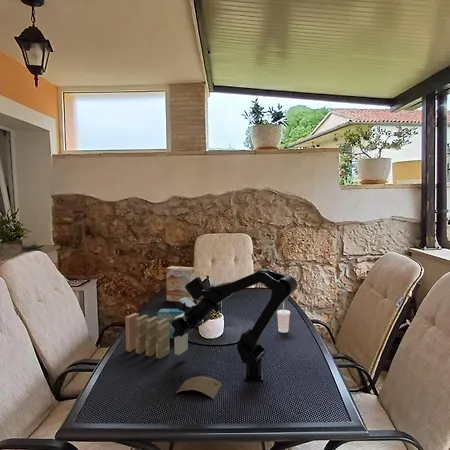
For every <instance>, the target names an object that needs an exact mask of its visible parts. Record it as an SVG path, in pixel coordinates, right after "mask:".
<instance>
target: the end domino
mask: <svg viewBox="0 0 450 450" xmlns="http://www.w3.org/2000/svg"><path fill="white" fill-rule="evenodd" d="M138 317H140V313H139V312H138V313H137V312H134V313H131V314H129V315H127V316H125V318H124V319H125V320H124V321H125V323H124V324H125V345H126V346H125V348H126V349H125V350H126V352H130V353H131V352H132V351H134V350H136V337H135V319H136V318H138Z"/></svg>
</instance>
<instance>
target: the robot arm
mask: <svg viewBox="0 0 450 450" xmlns="http://www.w3.org/2000/svg"><path fill="white" fill-rule="evenodd" d="M260 283H261V284H263V285H264V286H265V287H267V289H269V290H271V294H270V298H269V300H268V302H267V304H266V306H265V307H264V308H263V310H262V312H261V313H260V315H259V317H258V319H257V320H256V322H255V323H254V325H253V327H252V328H247V330H245V331H244V332H243V333H241V335H240V337H239V339H238V341H236V343H237V345H236V350H237V353H238V354H239V356H240V359H241V362H242V364H244V369H245V370H244V371H243V378H244V379H243V380H244V381H245V382H246V381H248V382H251V381H253V382H263V381H264V373H263V371H262V370H263V368H262V367H263V365H262V364H263V361H262V359H263V357H265V356H266V355H265V354H266V351H267V350H265V348H264V347H263V346H262V344H261V343H262V340H263V336H264V333H265V331H266V330H267V328H268V327H269V325H270V324H271V322H272V321H273V319H274V317H275V316H276V315H277V311H278V310H280V308H281V306H283V302H284V303H285V301H287V300H288V298H290V296H292V294H294V292H295V291H296V290H297V289H298V282H297V280H296V278H295V277H293V276H291V275H285V274H283V273H280V272H279V273H278V272H275V271H272V270H269V269H267V268H265V267H264V268H262V269H259V270H257V271H256V272H254V273H251V274H249V275H247V276H244V277H242V278H239V279H237V280H235V281H228V282H222V283H219V284H217V285H211V286H209V287H207V286H206V284H205V282H204V281H203V280H202V278H201V277H200V276H196V277H194V280H192V281H191V282H190V283H188V284H187V285H186V286H185V289H186V290H187V291H188V293H189V294H190V295H191V296H192V298H193V299H194V300H193V301H191V300H189V299H188V298H186V297H184V298H181V299H179V301H178V302H175V309H179V310H180V311H183V312H185V313H184V315H185V317H187V318H185V319H186V321H184V319H183V318H182V317H178V318H176V319H174V320H173V321H172V322H171V325H172V326H173V328H174V329H175V330H174V333H173V337H177V336H181V337H182V336H183V335H185V334H187V333H188V334H189V332H190V331H191V330H192V329H195V328H198V327H200V326H202V325H204V324H206V323H207V322H208V321H209V320H210V314H211V313H212V312H213V311H214V312H215V313H216V314H217V313H219V312H220V311H222V310H223V309H222V303H221V302H223V301H225V300H226V299H228V298H230V297H232V296H233V295H234V294H235V293H237V292H240V291H243V290H245V289H248V288H250V287H253V286H254V285H257V284H260ZM195 300H197V301H198V303H194V301H195ZM199 300H200V301H199ZM187 324H188V325H187Z"/></svg>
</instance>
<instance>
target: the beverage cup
mask: <svg viewBox="0 0 450 450" xmlns="http://www.w3.org/2000/svg"><path fill="white" fill-rule="evenodd" d="M276 315H277V329H278V332H279V333H288V332H289V327H290V315H291V311H290V310H288V309H285V301H284V302H283V303H282V309H278V311H277V313H276Z"/></svg>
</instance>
